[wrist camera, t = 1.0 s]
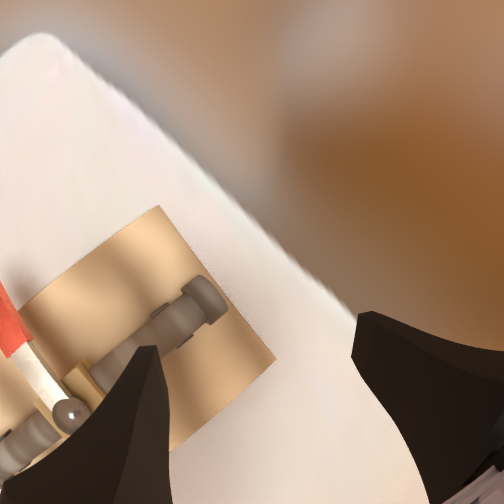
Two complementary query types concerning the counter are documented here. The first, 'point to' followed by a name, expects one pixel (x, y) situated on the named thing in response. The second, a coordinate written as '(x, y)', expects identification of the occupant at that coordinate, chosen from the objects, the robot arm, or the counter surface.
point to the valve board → (121, 313)
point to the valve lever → (38, 369)
